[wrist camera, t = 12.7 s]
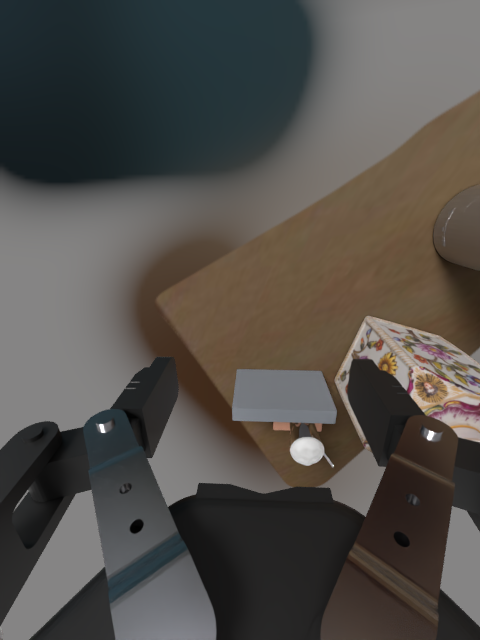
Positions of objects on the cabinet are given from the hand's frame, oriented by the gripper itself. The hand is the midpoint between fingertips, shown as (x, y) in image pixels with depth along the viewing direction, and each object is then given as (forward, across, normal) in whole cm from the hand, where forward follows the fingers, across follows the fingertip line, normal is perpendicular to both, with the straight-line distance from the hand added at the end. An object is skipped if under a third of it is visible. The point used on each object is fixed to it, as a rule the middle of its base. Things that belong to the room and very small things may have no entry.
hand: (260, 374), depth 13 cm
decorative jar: (+26, -19, +14) cm, 35 cm away
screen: (+26, -3, +18) cm, 31 cm away
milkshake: (+26, -7, +24) cm, 35 cm away
